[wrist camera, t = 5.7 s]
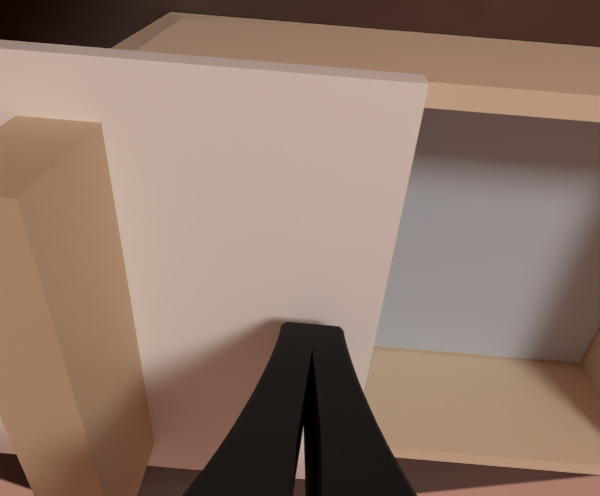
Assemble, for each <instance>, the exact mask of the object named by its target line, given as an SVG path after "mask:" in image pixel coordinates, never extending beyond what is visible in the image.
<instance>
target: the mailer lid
mask: <svg viewBox="0 0 600 496" xmlns="http://www.w3.org/2000/svg"><path fill="white" fill-rule="evenodd" d="M428 87H429V83H428V81H427V79H426V78H425V76H424V75H423V74H411V73H399V72H387V71H375V70H363V69H351V68H339V67H326V66H314V65H302V64H290V63H278V62H266V61H254V60H242V59H229V58H217V57H205V56H193V55H181V54H169V53H157V52H145V51H132V50H120V49H108V48H96V47H84V46H72V45H60V44H48V43H35V42H23V41H11V40H0V453H8V454H17V457H18V459H19V461H20V464H21V466H22V468H23V471H24V473H25V475H26V477H27V480H28V482H29V484H30V487H31V489H32V491H33V493H34V496H137V494H138V491H139V488H140V485H141V482H142V479H143V476H144V473H145V470H146V467H147V466H159V467H170V468H182V469H193V470H203V469H204V467H205V466H206V465H207V463H208V462H209V460H210V459H211V458H212V456H213V455H214V453H215V452H216V451H217V449H218V448H219V446H220V445H221V443H222V442H223V440H224V439H225V437H226V436H227V434H228V433H229V431H230V430H231V428H232V427H233V425H234V423H235V422H236V420H237V418H238V417H239V415H240V413H241V412H242V410H243V408H244V407H245V405H246V404H247V402H248V400H249V398H250V397H251V395H252V393H253V391H254V389H255V387H256V385H257V383H258V382H259V380H260V378H261V376H262V374H263V372H264V370H265V368H266V366H267V364H268V361H269V359H270V357H271V355H272V352H273V350H274V347H275V345H276V342H277V339H278V336H279V333H280V328H281V325H282V324H284V323H285V322H296V323H307V324H319V325H330V326H340V327H341V328H342V329H343V330H344V336H345V340H346V344H347V348H348V351H349V354H350V358H351V361H352V364H353V366H354V369H355V372H356V375H357V377H358V380H359V383H360V385H361V388H362V390H363V392H364V389H365V384H366V380H367V375H368V370H369V365H370V361H371V356H372V351H373V347H374V342H375V337H376V332H377V328H378V323H379V318H380V314H381V309H382V304H383V299H384V295H385V290H386V285H387V281H388V276H389V271H390V266H391V262H392V257H393V252H394V247H395V243H396V238H397V233H398V229H399V224H400V219H401V214H402V210H403V205H404V200H405V196H406V191H407V186H408V181H409V177H410V172H411V167H412V163H413V158H414V153H415V148H416V144H417V139H418V134H419V129H420V125H421V120H422V115H423V111H424V106H425V101H426V96H427V92H428ZM296 478H298V479H305V460H304V426H303V433H302V439H301V446H300V452H299V459H298V465H297V472H296Z"/></svg>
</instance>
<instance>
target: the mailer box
mask: <svg viewBox="0 0 600 496" xmlns="http://www.w3.org/2000/svg"><path fill="white" fill-rule="evenodd" d="M110 49H120V50H132V51H145V52H157V53H169V54H181V55H193V56H205V57H217V58H229V59H242V60H254V61H266V62H278V63H290V64H302V65H314V66H326V67H339V68H351V69H363V70H375V71H387V72H399V73H411V74H423V75H424V76H425V78H426V79H427V81H428V83H429V87H428V92H427V96H426V101H425V106H424V111H423V115H422V120H421V125H420V129H419V134H418V139H417V144H416V148H415V153H414V158H413V163H412V167H411V172H410V177H409V181H408V186H407V191H406V196H405V200H404V205H403V210H402V214H401V219H400V224H399V229H398V233H397V238H396V243H395V247H394V252H393V257H392V262H391V266H390V271H389V276H388V281H387V285H386V290H385V295H384V299H383V304H382V309H381V314H380V318H379V323H378V328H377V332H376V337H375V342H374V347H373V351H372V356H371V361H370V365H369V370H368V375H367V380H366V384H365V389H364V395H365V397H366V399H367V402H368V404H369V406H370V409H371V411H372V413H373V415H374V417H375V420H376V422H377V424H378V426H379V428H380V430H381V432H382V434H383V436H384V438H385V440H386V442H387V444H388V446H389V448H390V450H391V451H392V453H393V455H394V457H398V458H409V459H421V460H433V461H444V462H456V463H467V464H479V465H491V466H502V467H514V468H525V469H537V470H549V471H560V472H572V473H584V474H595V475H600V47H589V46H577V45H565V44H553V43H541V42H528V41H516V40H504V39H492V38H480V37H468V36H455V35H443V34H431V33H419V32H407V31H394V30H382V29H370V28H358V27H346V26H334V25H321V24H309V23H297V22H285V21H273V20H261V19H248V18H236V17H224V16H212V15H200V14H187V13H175V12H170V13H168V14H166V15H165V16H163V17H162V18H160V19H158V20H157V21H155V22H153V23H152V24H150V25H148V26H147V27H145V28H143V29H142V30H140V31H138V32H137V33H135V34H133V35H132V36H130V37H128V38H127V39H125V40H124V41H122V42H120V43H119V44H117V45H115V46H114V47H112V48H110Z"/></svg>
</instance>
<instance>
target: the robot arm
mask: <svg viewBox="0 0 600 496" xmlns="http://www.w3.org/2000/svg"><path fill="white" fill-rule="evenodd" d="M303 426H304V460H305V491H306V496H417V495H416V493H415V491H414V490H413V488H412V487H411V485H410V483H409V481H408V480H407V478H406V476H405V475H404V473H403V471H402V470H401V468H400V466H399V464H398V462H397V461H396V459H395V457H394V455H393V453H392V451H391V450H390V448H389V446H388V444H387V442H386V440H385V438H384V436H383V434H382V432H381V430H380V428H379V426H378V424H377V422H376V420H375V417H374V415H373V413H372V411H371V409H370V406H369V404H368V402H367V399H366V397H365V395H364V392H363V390H362V388H361V385H360V383H359V380H358V377H357V375H356V372H355V369H354V366H353V364H352V361H351V358H350V354H349V351H348V348H347V344H346V340H345V336H344V330H343V329H342V328H341V327H340V326H330V325H319V324H307V323H296V322H285V323H284V324H282V325H281V328H280V333H279V336H278V339H277V342H276V345H275V347H274V350H273V352H272V355H271V357H270V359H269V361H268V364H267V366H266V368H265V370H264V372H263V374H262V376H261V378H260V380H259V382H258V383H257V385H256V387H255V389H254V391H253V393H252V395H251V397H250V398H249V400H248V402H247V404H246V405H245V407H244V408H243V410H242V412H241V413H240V415H239V417H238V418H237V420H236V422H235V423H234V425H233V427H232V428H231V430H230V431H229V433H228V434H227V436H226V437H225V439H224V440H223V442H222V443H221V445H220V446H219V448H218V449H217V451H216V452H215V453H214V455H213V456H212V458H211V459H210V460H209V462H208V463H207V465H206V466H205V467H204V469H203V470H202V471H201V472H200V474H199V475H198V476H197V478H196V479H195V480H194V482H193V483H192V484H191V485H190V487H189V488H188V489H187V491H186V492H185V493H184V494H183V496H293V491H294V484H295V478H296V472H297V465H298V459H299V452H300V446H301V439H302V433H303Z"/></svg>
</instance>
